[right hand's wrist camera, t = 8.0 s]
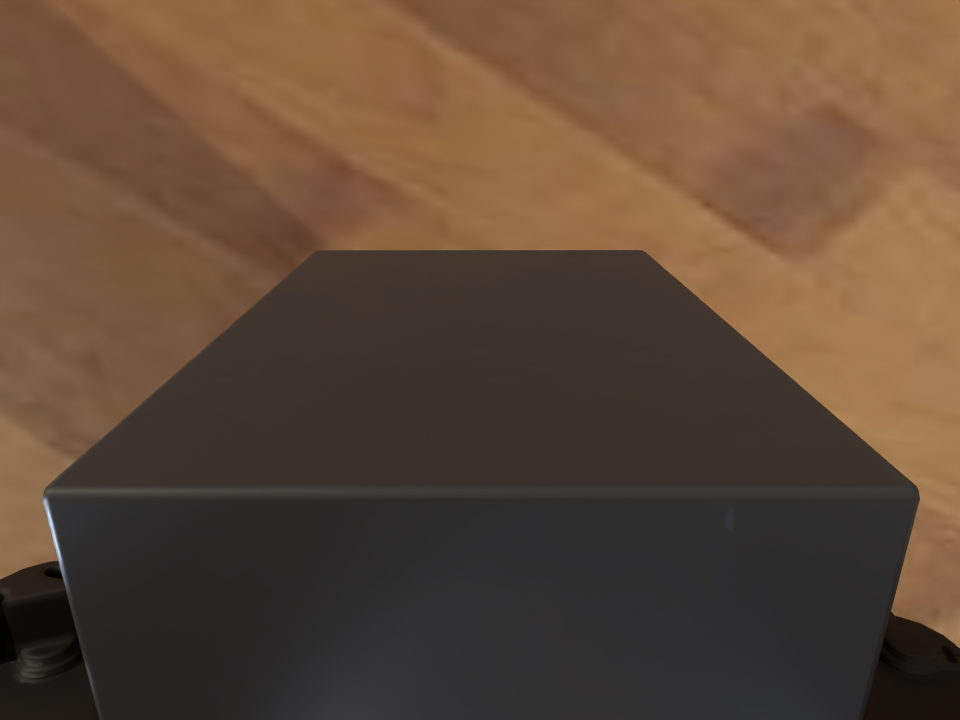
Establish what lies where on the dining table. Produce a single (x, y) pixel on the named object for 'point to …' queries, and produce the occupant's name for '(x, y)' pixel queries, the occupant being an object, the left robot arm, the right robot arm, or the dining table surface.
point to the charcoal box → (481, 509)
